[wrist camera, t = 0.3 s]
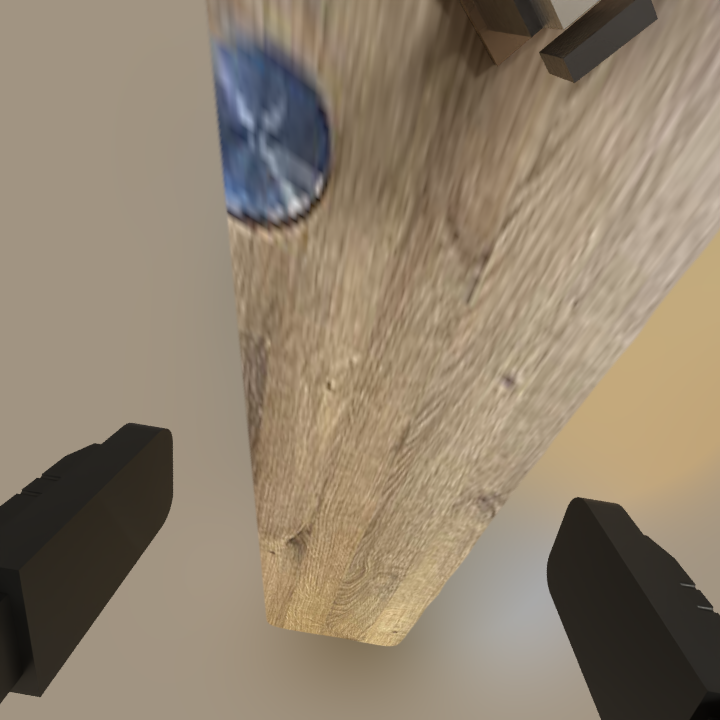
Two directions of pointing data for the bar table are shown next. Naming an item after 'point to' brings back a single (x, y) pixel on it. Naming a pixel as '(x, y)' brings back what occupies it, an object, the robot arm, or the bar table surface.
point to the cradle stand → (570, 49)
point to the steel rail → (560, 11)
